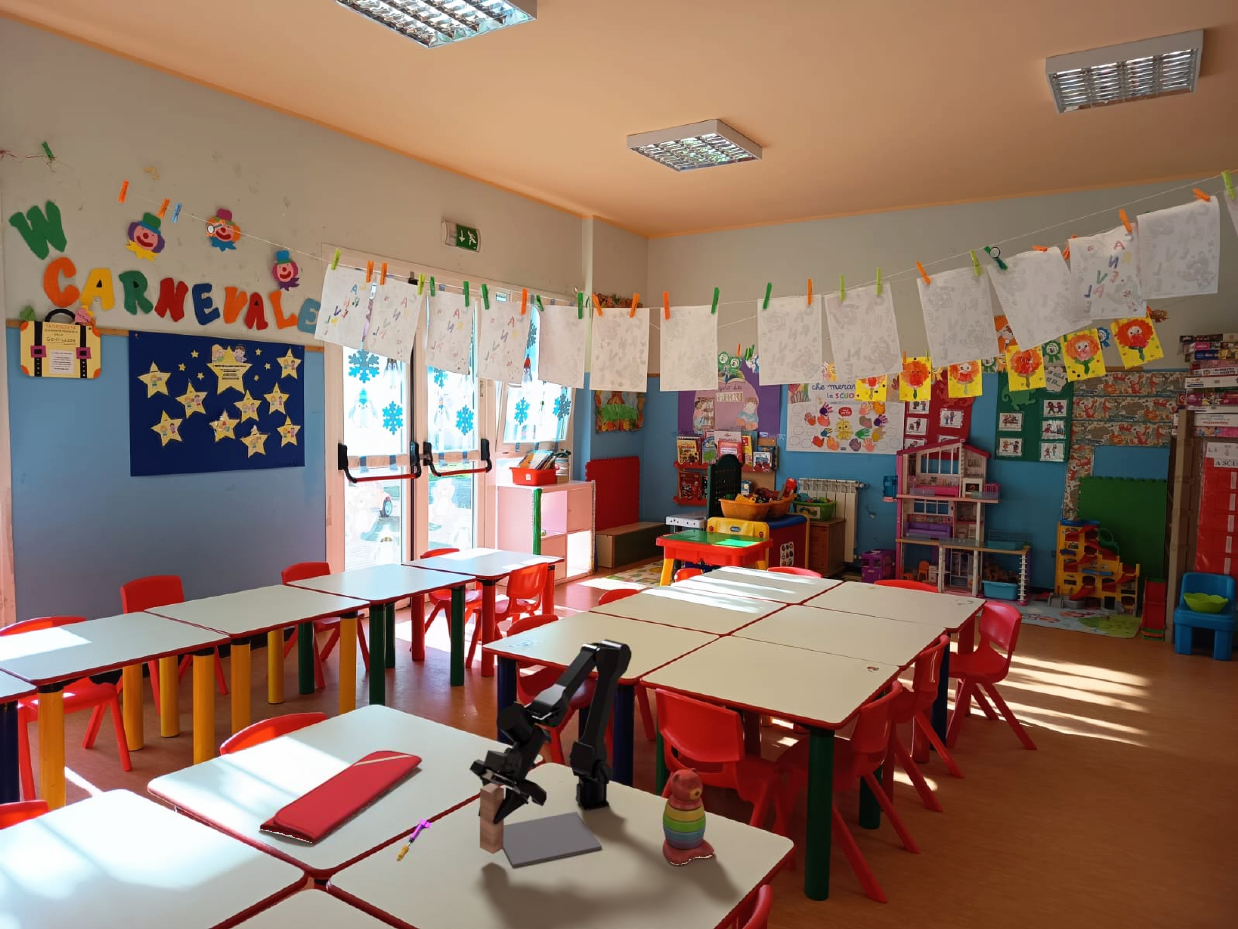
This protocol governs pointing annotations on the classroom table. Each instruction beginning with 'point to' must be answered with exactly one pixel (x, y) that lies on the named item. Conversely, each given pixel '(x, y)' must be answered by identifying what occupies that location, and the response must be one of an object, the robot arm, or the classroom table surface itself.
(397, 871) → the classroom table surface
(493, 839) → the terracotta block
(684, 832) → the stacking bear
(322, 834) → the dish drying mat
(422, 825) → the pink dart
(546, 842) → the charcoal mat
